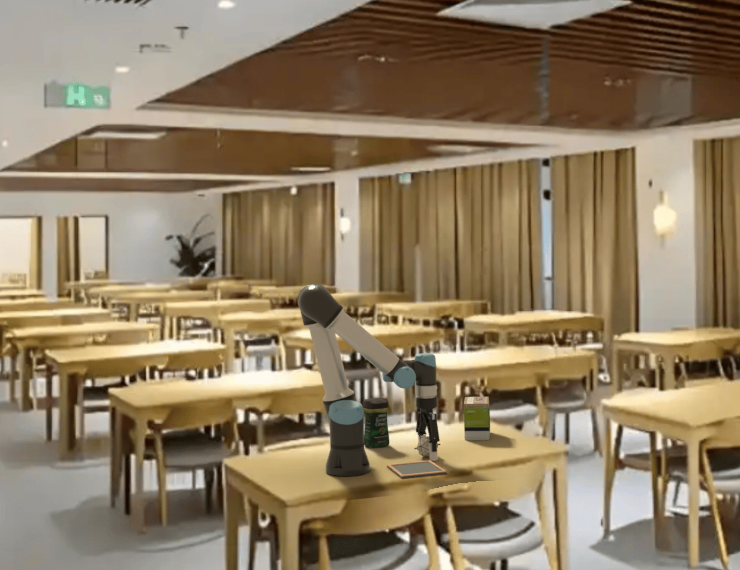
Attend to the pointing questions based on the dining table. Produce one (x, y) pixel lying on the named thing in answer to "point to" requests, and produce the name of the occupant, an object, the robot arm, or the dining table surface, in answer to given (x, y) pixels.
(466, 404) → the tea box
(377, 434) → the coffee jar
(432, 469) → the mat
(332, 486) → the dining table surface
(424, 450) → the game die
